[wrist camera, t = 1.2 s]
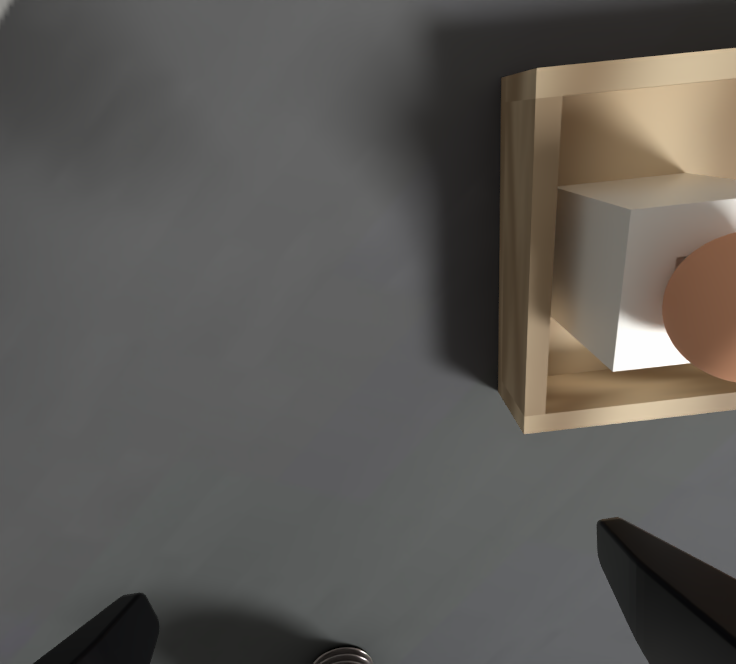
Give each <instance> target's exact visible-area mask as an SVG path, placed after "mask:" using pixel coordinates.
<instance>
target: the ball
mask: <svg viewBox="0 0 736 664" xmlns="http://www.w3.org/2000/svg"><path fill="white" fill-rule="evenodd" d="M662 316H663V322H664V326H665V329H666V332H667V334H668V336H669V338H670V340H671V342H672V344H673V345H674V346H675V348H676V349H677V350H678V351H679V353H680V354H681V355H682V356H683V357H684V358H685V359H686V360H688V361H689V362H690V363H691V364H692V365H694V366H695V367H697V368H699V369H700V370H702V371H704V372H706V373H708V374H710V375H712V376H715V377H717V378H720V379H723V380H727V381H731V382H736V232H735V233H731V234H728V235H725V236H722V237H719V238H717V239H714V240H712V241H710V242H708V243H706V244H704V245H703V246H701V247H700V248H698V249H697V250H695V251H694V252H693V253H691V254H690V255H689V256H688V257H687V258H685V259H684V260H683V261H682V262H681V264H680V265H679V266H678V267H677V268H676V270H675V271H674V273H673V274H672V276H671V278H670V280H669V281H668V284H667V286H666V289H665V292H664V296H663V304H662Z"/></svg>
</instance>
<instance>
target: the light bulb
mask: <svg viewBox="0 0 736 664" xmlns="http://www.w3.org/2000/svg"><path fill="white" fill-rule="evenodd" d="M313 664H373V661H372V659H371V657H370V656H369V655H368V654H367V653H366V652H364V651H362V650H360V649H357V648H352V647H342V648H336V649H333V650H330V651H328V652H326V653H324V654H322V655H321V656H320V657H318V658H317V659H316V660H315V662H314V663H313Z"/></svg>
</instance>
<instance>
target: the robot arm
mask: <svg viewBox="0 0 736 664" xmlns="http://www.w3.org/2000/svg"><path fill="white" fill-rule="evenodd" d="M597 550H598V557H599V561H600V564H601V567H602V569H603V571H604V573H605V575H606V578H607V580H608V582H609V584H610V586H611V588H612V590H613V593H614V595H615V597H616V599H617V601H618V603H619V606H620V608H621V610H622V612H623V614H624V616H625V618H626V621H627V623H628V625H629V627H630V629H631V631H632V633H633V635H634V637H635V639H636V641H637V643H638V645H639V647H640V648H641V650H642V652H643V654H644V655H645V657H646V659H647V660H648V662H649V664H736V579H735V578H733V577H731V576H729V575H727V574H725V573H724V572H722V571H720V570H718V569H716V568H714V567H712V566H710V565H709V564H707V563H705V562H703V561H701V560H699V559H697V558H695V557H693V556H692V555H690V554H688V553H686V552H684V551H682V550H680V549H678V548H676V547H675V546H673V545H671V544H669V543H667V542H665V541H663V540H661V539H660V538H658V537H656V536H654V535H652V534H650V533H648V532H646V531H644V530H643V529H641V528H639V527H637V526H635V525H633V524H631V523H629V522H628V521H626V520H624V519H621V518H619V517H615V518H608V519H602V520H599V521H598V522H597ZM158 634H159V621H158V618H157V616H156V614H155V612H154V610H153V608H152V606H151V604H150V603H149V601H148V599H147V597H146V595H144V594H143V593H134V594H127V595H123V596H122V597H120V598H119V599H117V600H116V601H115V602H113V603H112V604H111V605H109V606H108V607H107V608H105V609H104V610H103V611H102V612H100V613H99V614H98V615H96V616H95V617H94V618H92V619H91V620H90V621H88V622H87V623H86V624H84V625H83V626H82V627H81V628H79V629H78V630H77V631H75V632H74V633H73V634H71V635H70V636H69V637H67V638H66V639H65V640H63V641H62V642H61V643H60V644H58V645H57V646H56V647H54V648H53V649H52V650H50V651H49V652H48V653H46V654H45V655H44V656H43V657H41V658H40V659H39V660H37V661H36V662H35V663H33V664H150V662H151V659H152V655H153V652H154V648H155V645H156V642H157V638H158Z"/></svg>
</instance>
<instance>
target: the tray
mask: <svg viewBox="0 0 736 664" xmlns="http://www.w3.org/2000/svg"><path fill="white" fill-rule="evenodd" d="M679 173H691V174H698V175H705V176H712V177H719V178H726V179H733V180H736V48H729V49H719V50H709V51H699V52H689V53H679V54H670V55H660V56H650V57H640V58H630V59H620V60H611V61H601V62H591V63H581V64H571V65H561V66H552V67H542V68H535V69H531V70H528V71H524V72H520V73H517V74H513V75H509V76H506V77H502V78H501V155H500V254H499V352H498V392H499V394H500V396H501V397H502V399H503V400H504V402H505V404H506V405H507V407H508V409H509V410H510V412H511V414H512V415H513V417H514V419H515V420H516V422H517V424H518V425H519V427H520V429H521V430H522V432H523V434H529V433H538V432H547V431H555V430H564V429H572V428H581V427H590V426H598V425H607V424H616V423H624V422H633V421H642V420H650V419H659V418H667V417H676V416H685V415H693V414H702V413H711V412H719V411H728V410H736V382H731V381H727V380H723V379H720V378H717V377H715V376H712V375H710V374H708V373H706V372H704V371H702V370H700V369H699V368H697V367H695V366H694V365H692V364H691V363H686V364H677V365H668V366H660V367H651V368H642V369H633V370H624V371H616V372H612V371H611V370H610V369H609V368H608V367H607V366H606V365H605V364H603V363H602V362H601V361H600V360H599V359H598V358H597V357H596V356H595V355H593V354H592V353H591V352H590V351H589V350H588V349H587V348H586V347H585V346H583V345H582V344H581V343H580V342H579V341H578V340H577V339H576V338H574V337H573V336H572V335H571V334H570V333H569V332H568V331H567V330H566V329H564V328H563V327H562V326H561V325H560V324H559V323H558V322H557V321H556V320H554V319H553V318H552V317H551V299H552V281H553V262H554V244H555V225H556V207H557V188H558V186H566V185H575V184H585V183H594V182H604V181H613V180H622V179H632V178H641V177H651V176H660V175H669V174H679Z"/></svg>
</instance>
